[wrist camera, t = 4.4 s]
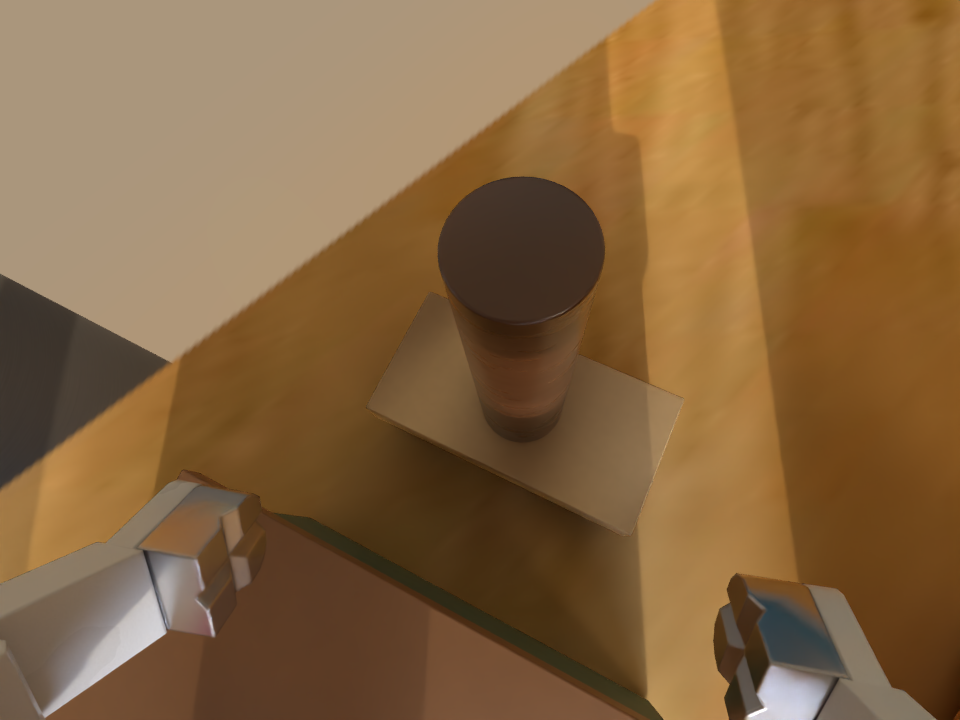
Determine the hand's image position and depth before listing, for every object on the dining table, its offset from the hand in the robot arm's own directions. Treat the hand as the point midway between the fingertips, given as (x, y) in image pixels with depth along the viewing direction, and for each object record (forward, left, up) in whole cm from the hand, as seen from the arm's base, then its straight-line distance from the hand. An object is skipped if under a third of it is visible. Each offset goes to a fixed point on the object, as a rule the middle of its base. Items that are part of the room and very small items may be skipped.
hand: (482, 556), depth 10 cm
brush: (-1, +5, -12) cm, 13 cm away
